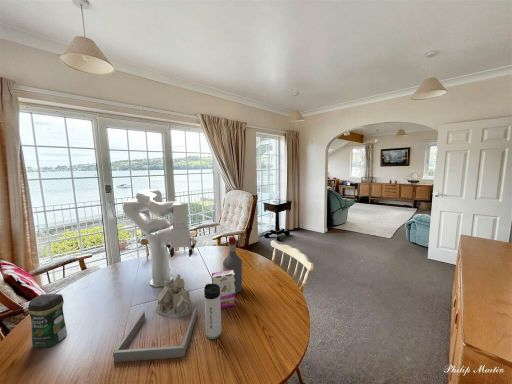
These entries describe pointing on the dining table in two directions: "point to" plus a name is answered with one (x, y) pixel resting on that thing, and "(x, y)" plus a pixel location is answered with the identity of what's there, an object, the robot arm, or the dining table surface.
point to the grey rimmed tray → (151, 353)
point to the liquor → (234, 264)
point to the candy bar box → (226, 287)
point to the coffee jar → (47, 320)
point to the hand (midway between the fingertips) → (181, 255)
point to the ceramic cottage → (174, 300)
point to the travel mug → (212, 311)
